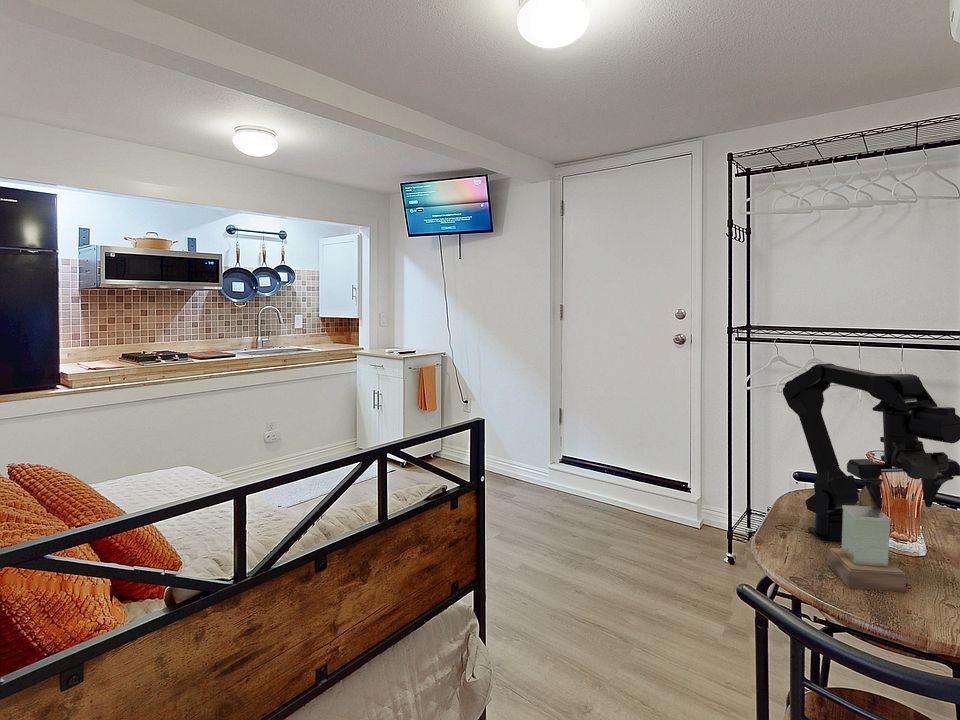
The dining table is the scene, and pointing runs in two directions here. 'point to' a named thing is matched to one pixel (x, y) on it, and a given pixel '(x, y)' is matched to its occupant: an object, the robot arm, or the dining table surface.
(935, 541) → the dining table surface
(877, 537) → the tea tin
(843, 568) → the walnut box
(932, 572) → the dining table surface
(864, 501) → the rock
